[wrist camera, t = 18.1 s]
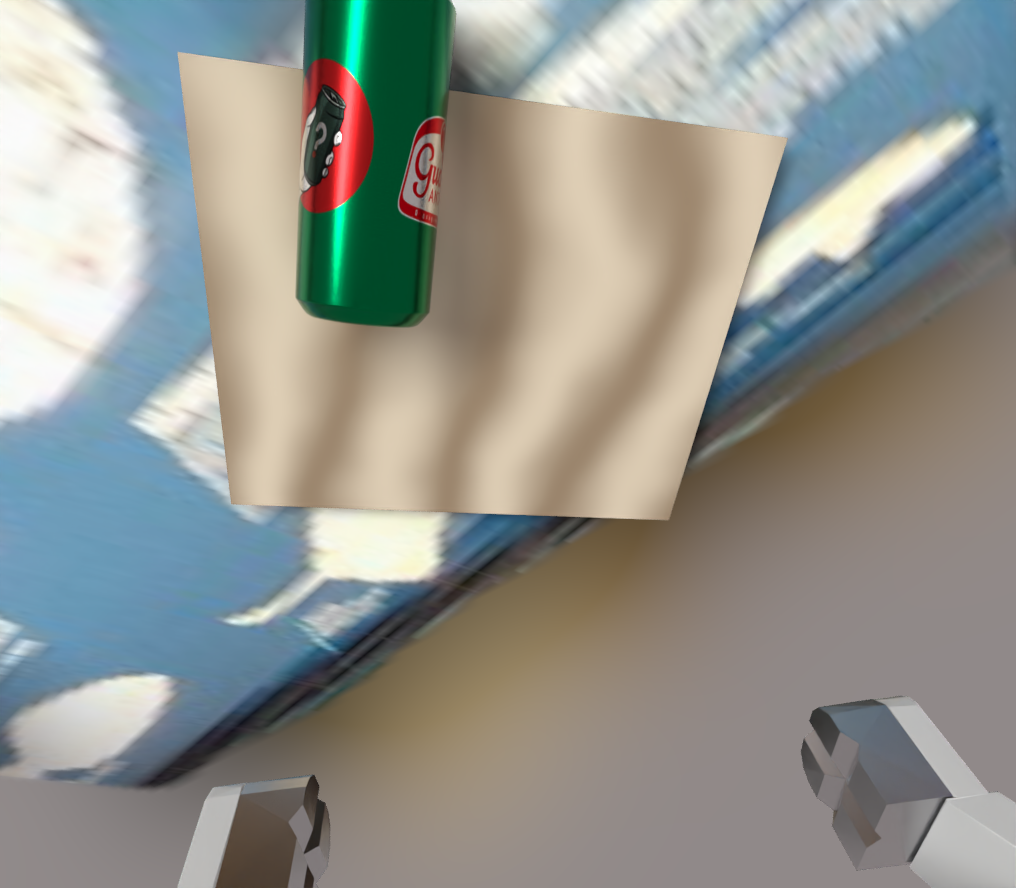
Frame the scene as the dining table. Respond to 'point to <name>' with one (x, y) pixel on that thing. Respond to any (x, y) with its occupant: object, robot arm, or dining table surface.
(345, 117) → the soda can
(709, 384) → the birch board
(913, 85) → the dining table surface
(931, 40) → the dining table surface
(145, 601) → the dining table surface
